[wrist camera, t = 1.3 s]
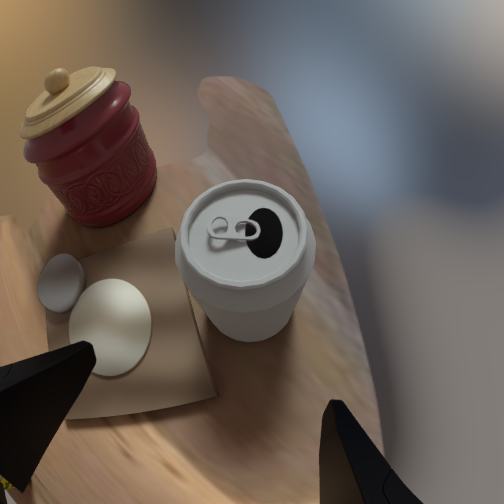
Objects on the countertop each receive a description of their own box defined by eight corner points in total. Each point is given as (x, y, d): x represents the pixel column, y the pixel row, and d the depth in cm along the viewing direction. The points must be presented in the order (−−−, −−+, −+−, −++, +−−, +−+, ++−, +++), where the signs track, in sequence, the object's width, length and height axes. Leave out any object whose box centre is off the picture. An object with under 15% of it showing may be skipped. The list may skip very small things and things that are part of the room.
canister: (128, 241, 26) (39, 104, 11) (56, 221, 28) (-19, 125, 13) (176, 155, 32) (142, 28, 17) (104, 150, 34) (60, 53, 18)
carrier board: (218, 395, 20) (213, 397, 17) (68, 419, 18) (51, 419, 15) (174, 229, 27) (166, 214, 24) (52, 272, 25) (38, 262, 22)
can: (294, 343, 21) (330, 301, 11) (204, 342, 22) (153, 298, 11) (292, 262, 25) (313, 168, 14) (210, 261, 25) (179, 169, 15)
